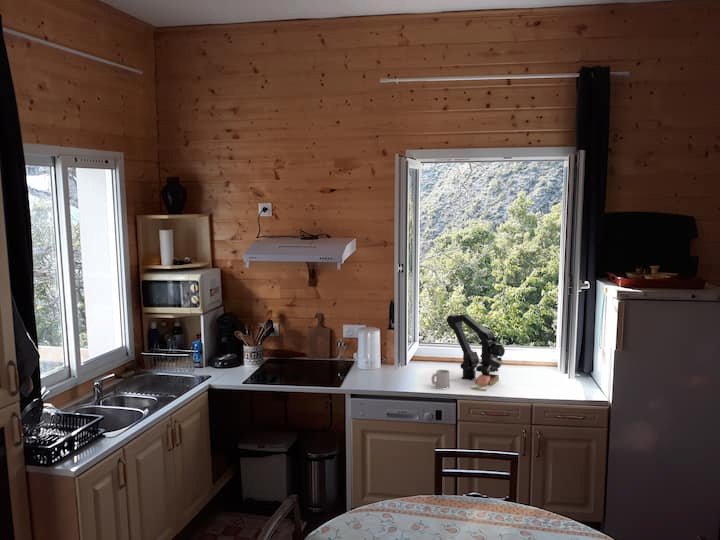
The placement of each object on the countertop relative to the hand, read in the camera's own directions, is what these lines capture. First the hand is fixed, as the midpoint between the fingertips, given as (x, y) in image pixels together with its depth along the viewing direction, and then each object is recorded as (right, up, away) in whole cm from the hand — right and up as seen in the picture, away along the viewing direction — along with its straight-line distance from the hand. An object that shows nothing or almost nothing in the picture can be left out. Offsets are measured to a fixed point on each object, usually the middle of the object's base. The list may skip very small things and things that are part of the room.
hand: (486, 380), depth 343 cm
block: (-3, -1, -4) cm, 5 cm away
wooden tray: (-1, -2, -2) cm, 3 cm away
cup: (-27, -3, -6) cm, 28 cm away
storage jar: (+8, +1, +27) cm, 28 cm away
